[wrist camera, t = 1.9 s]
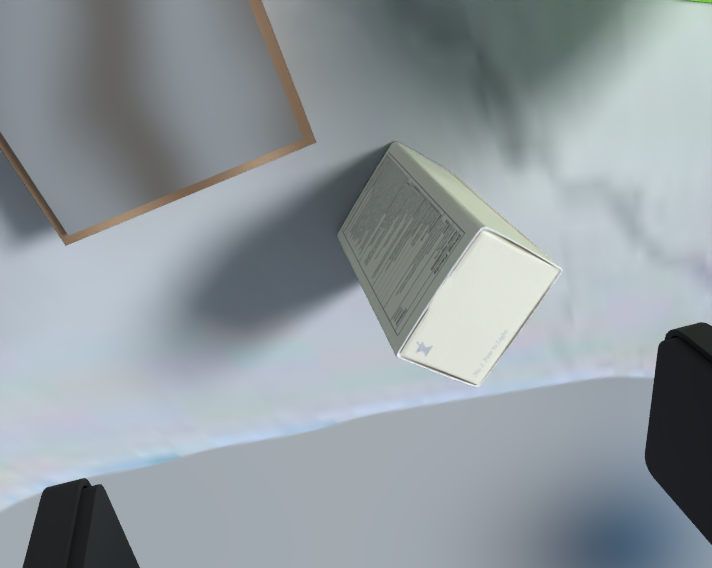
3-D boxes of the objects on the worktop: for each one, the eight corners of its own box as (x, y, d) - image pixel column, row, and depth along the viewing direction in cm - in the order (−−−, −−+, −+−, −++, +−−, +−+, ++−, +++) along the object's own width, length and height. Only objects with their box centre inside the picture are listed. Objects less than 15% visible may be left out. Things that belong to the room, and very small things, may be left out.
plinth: (195, -157, 26) (196, -169, 23) (303, 121, 32) (317, 144, 29) (-87, -44, 26) (-130, -39, 22) (77, 214, 32) (64, 249, 28)
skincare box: (397, 264, 37) (478, 395, 27) (331, 234, 35) (390, 361, 25) (458, 170, 35) (571, 272, 25) (391, 132, 34) (483, 225, 23)
